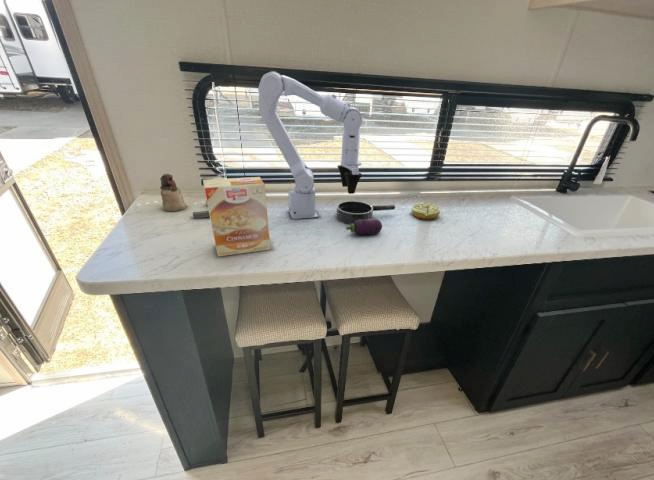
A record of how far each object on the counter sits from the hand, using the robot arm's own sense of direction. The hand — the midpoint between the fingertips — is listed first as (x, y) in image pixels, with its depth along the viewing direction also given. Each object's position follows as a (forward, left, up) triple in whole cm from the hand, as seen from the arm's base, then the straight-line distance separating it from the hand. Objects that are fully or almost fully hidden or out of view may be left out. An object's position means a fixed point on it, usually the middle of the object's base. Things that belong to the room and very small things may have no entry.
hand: (348, 189), depth 119 cm
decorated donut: (+30, -5, -10) cm, 32 cm away
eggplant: (+1, -16, -9) cm, 18 cm away
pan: (+2, -3, -9) cm, 10 cm away
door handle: (-45, +9, -10) cm, 47 cm away
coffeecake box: (-38, -20, -10) cm, 44 cm away
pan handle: (+13, -3, -7) cm, 15 cm away
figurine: (-60, +16, -10) cm, 63 cm away
